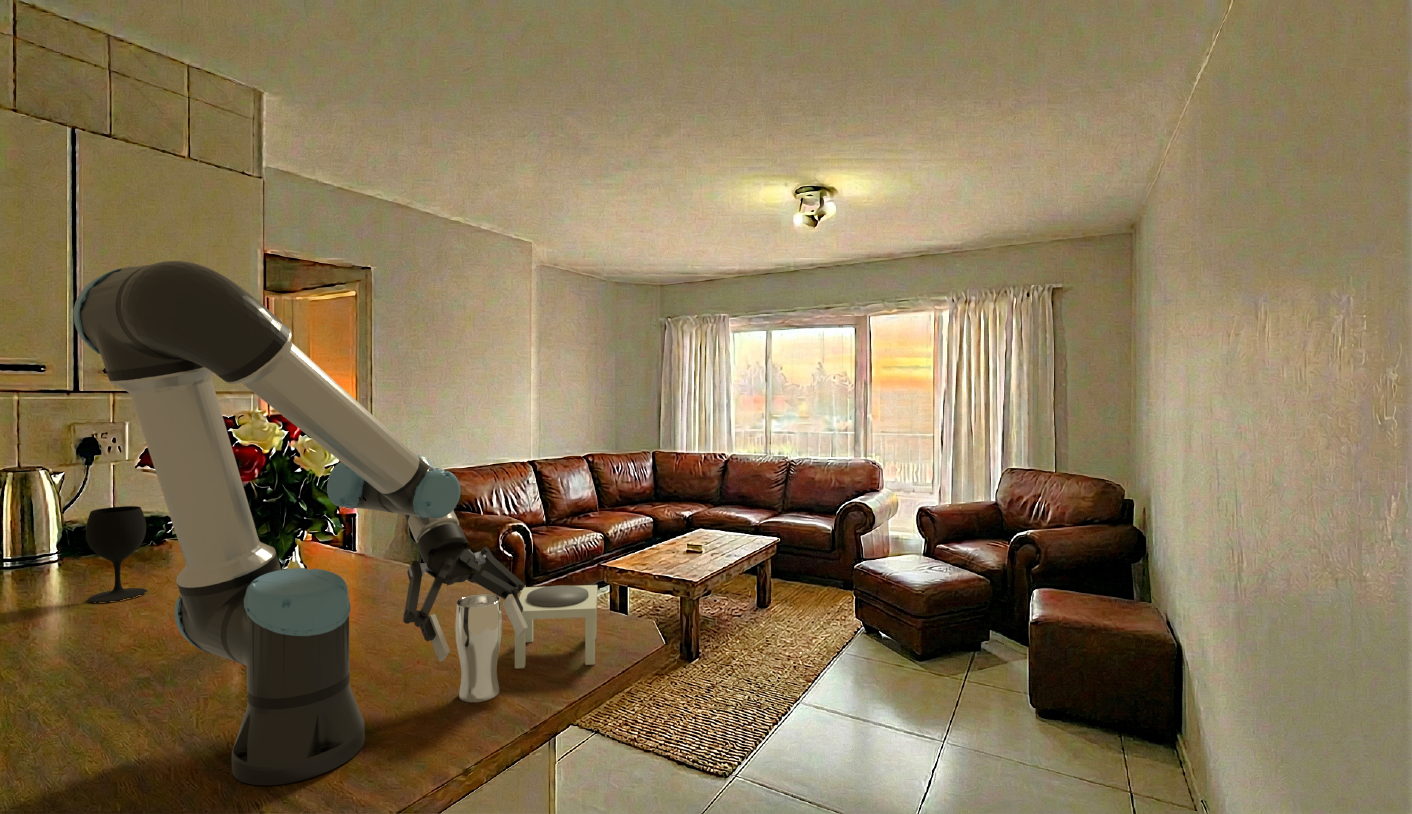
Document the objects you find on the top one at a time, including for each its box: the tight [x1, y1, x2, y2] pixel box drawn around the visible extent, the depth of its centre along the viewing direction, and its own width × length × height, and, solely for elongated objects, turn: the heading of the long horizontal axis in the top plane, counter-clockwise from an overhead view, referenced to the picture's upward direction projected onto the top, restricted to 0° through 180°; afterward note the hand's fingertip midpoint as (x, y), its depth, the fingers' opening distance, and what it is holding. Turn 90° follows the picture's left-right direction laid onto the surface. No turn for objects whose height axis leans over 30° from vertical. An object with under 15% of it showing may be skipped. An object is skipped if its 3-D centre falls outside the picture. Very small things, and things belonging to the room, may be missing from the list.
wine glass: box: [85, 505, 148, 604], centre depth 155 cm, size 10×10×20 cm
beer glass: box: [455, 593, 503, 703], centre depth 108 cm, size 7×7×15 cm
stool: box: [514, 584, 598, 669], centre depth 125 cm, size 14×14×11 cm
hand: (485, 644), depth 108 cm, fingers open, 13 cm apart
